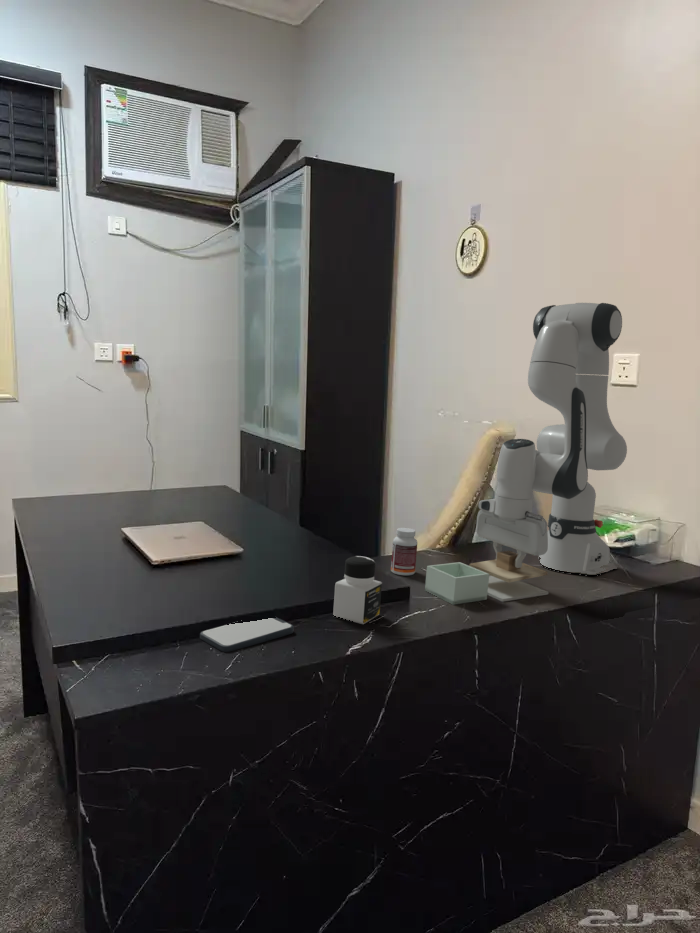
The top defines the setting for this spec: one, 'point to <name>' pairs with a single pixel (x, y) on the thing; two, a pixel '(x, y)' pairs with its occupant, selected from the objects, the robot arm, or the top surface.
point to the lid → (508, 568)
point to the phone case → (246, 633)
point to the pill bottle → (404, 552)
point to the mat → (512, 590)
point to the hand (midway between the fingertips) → (508, 563)
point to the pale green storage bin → (457, 583)
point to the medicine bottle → (358, 591)
